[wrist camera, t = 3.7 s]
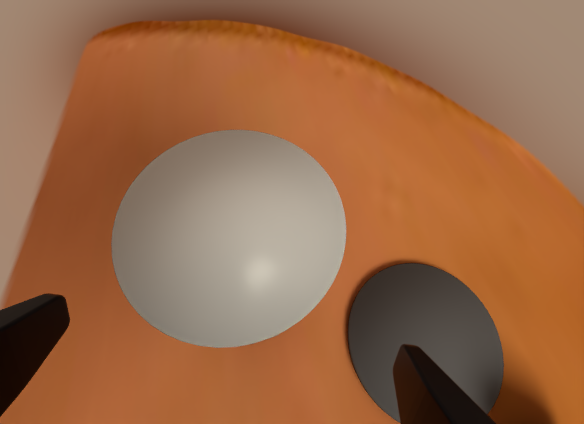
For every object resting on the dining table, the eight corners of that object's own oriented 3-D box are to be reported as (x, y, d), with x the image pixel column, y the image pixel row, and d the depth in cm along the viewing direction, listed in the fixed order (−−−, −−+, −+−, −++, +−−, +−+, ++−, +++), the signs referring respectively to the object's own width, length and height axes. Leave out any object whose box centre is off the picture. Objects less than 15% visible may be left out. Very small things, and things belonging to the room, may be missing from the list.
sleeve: (249, 357, 16) (180, 413, 4) (208, 288, 17) (75, 193, 6) (313, 307, 17) (393, 248, 6) (271, 247, 18) (265, 101, 7)
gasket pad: (426, 478, 14) (429, 480, 14) (317, 320, 17) (317, 320, 16) (530, 358, 16) (535, 359, 16) (420, 238, 19) (422, 237, 19)
